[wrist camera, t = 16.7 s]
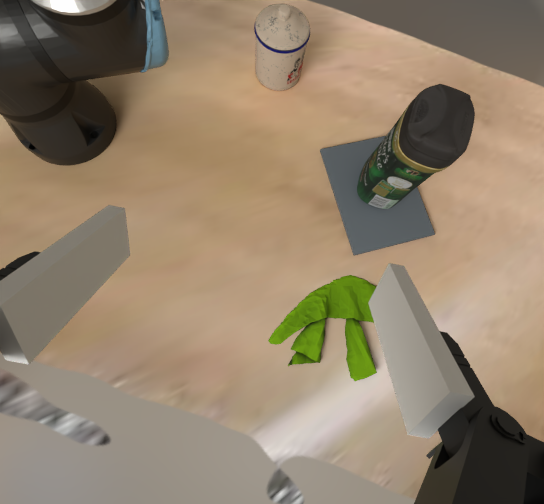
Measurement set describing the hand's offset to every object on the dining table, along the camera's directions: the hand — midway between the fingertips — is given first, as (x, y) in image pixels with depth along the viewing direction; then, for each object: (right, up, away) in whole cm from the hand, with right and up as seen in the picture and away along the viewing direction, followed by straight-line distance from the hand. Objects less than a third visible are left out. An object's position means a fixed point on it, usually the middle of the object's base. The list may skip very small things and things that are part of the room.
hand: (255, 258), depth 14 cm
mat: (+19, +11, +36) cm, 42 cm away
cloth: (+11, -14, +31) cm, 36 cm away
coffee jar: (+20, +12, +36) cm, 43 cm away
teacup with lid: (+2, +36, +40) cm, 54 cm away
